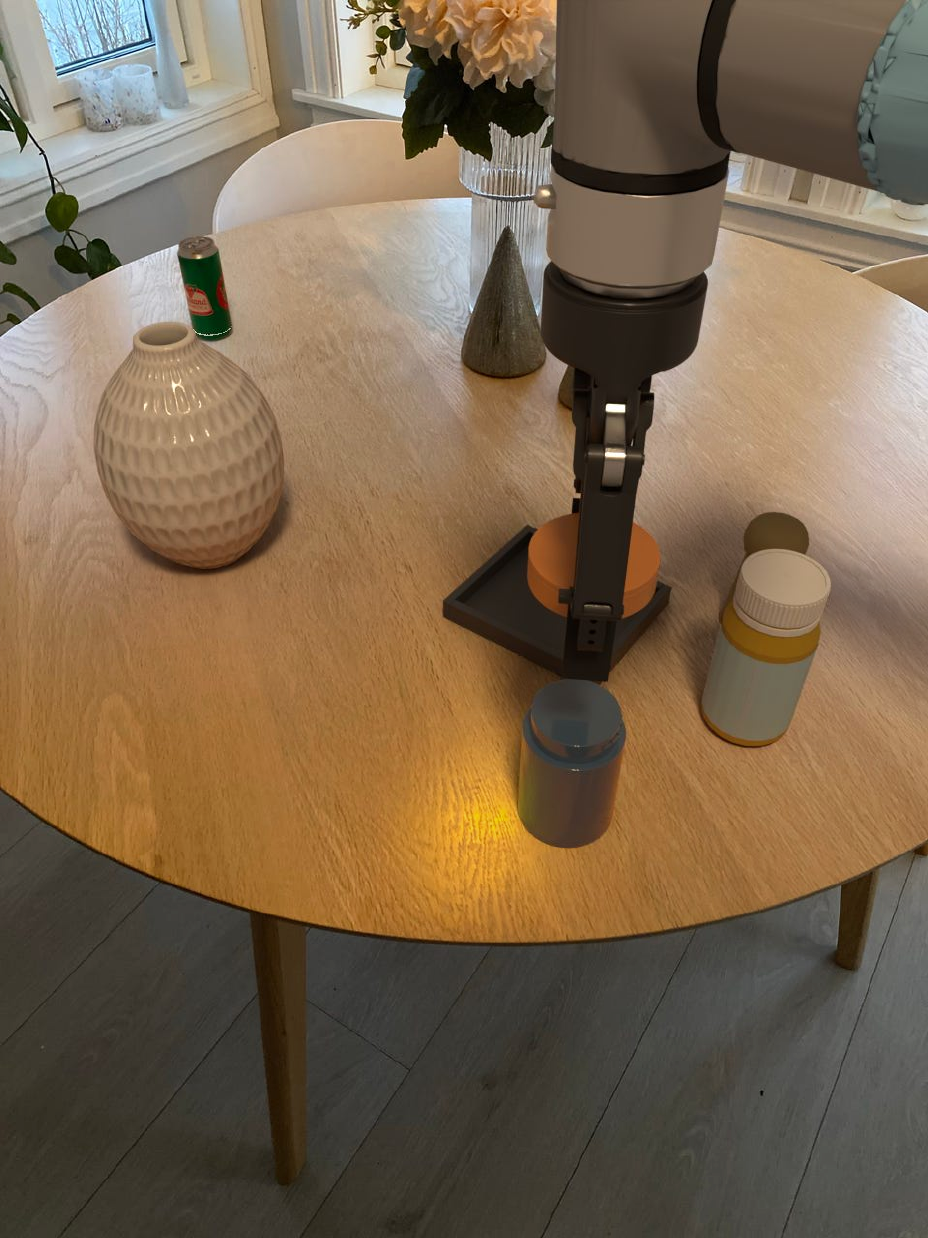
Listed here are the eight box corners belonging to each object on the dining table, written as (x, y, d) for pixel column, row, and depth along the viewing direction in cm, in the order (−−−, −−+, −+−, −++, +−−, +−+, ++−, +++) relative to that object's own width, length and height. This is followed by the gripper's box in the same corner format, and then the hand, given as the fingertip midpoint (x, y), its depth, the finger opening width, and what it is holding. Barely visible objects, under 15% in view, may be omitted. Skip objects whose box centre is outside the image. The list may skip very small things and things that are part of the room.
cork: (784, 652, 83) (816, 553, 75) (714, 636, 84) (738, 537, 77) (790, 607, 87) (821, 509, 79) (723, 593, 88) (747, 495, 81)
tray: (669, 603, 87) (672, 586, 86) (593, 692, 79) (595, 676, 78) (526, 540, 94) (527, 524, 93) (442, 616, 86) (442, 600, 85)
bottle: (782, 761, 74) (833, 619, 64) (692, 737, 76) (727, 595, 66) (792, 698, 79) (841, 557, 69) (707, 677, 81) (742, 536, 70)
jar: (629, 799, 71) (648, 702, 64) (580, 865, 67) (595, 770, 60) (550, 755, 74) (559, 658, 67) (499, 816, 70) (502, 720, 63)
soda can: (186, 335, 125) (166, 244, 117) (214, 321, 128) (196, 231, 120) (213, 346, 123) (195, 254, 115) (241, 331, 126) (225, 240, 118)
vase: (91, 577, 90) (15, 361, 75) (188, 483, 101) (139, 278, 86) (240, 620, 86) (192, 400, 70) (325, 518, 97) (299, 308, 81)
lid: (501, 588, 56) (501, 560, 55) (568, 524, 60) (570, 496, 59) (616, 641, 53) (620, 613, 51) (678, 568, 57) (683, 541, 56)
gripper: (552, 183, 51) (533, 523, 67) (532, 369, 37) (514, 751, 52) (694, 187, 51) (641, 530, 66) (732, 379, 36) (653, 762, 52)
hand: (585, 627), depth 59 cm, fingers closed on lid, 7 cm apart
